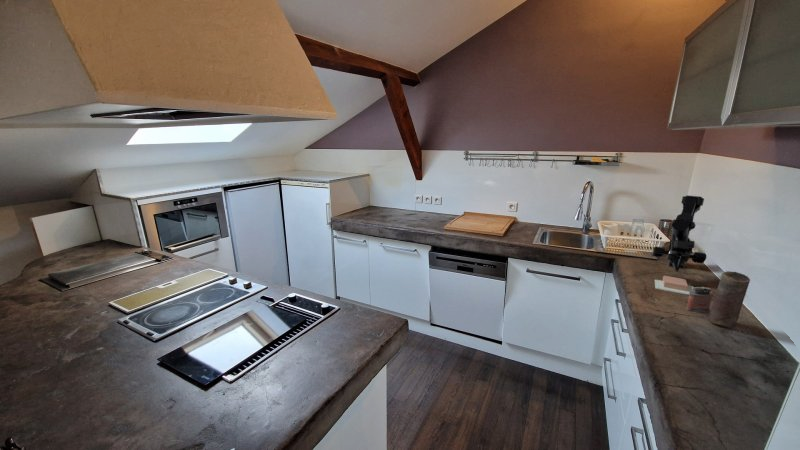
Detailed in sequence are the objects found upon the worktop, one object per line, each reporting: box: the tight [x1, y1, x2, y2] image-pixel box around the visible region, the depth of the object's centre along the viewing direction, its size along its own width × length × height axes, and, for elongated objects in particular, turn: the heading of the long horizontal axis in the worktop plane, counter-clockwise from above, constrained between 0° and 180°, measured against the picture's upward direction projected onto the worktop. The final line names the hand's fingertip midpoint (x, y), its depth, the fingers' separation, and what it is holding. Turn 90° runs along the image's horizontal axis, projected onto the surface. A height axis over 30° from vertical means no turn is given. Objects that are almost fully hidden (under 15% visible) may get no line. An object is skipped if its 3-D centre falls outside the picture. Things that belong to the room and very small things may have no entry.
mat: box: [654, 279, 694, 296], centre depth 149 cm, size 10×14×1 cm
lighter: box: [685, 286, 714, 313], centre depth 130 cm, size 8×3×10 cm, turn 84°
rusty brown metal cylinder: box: [707, 270, 751, 328], centre depth 119 cm, size 8×7×20 cm
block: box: [662, 275, 689, 291], centre depth 150 cm, size 2×8×8 cm
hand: (676, 271), depth 150 cm, fingers closed
